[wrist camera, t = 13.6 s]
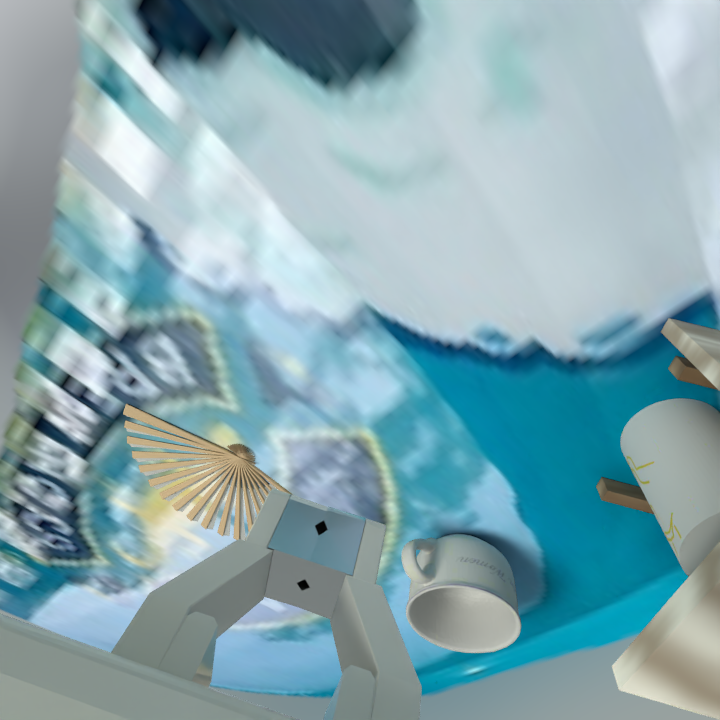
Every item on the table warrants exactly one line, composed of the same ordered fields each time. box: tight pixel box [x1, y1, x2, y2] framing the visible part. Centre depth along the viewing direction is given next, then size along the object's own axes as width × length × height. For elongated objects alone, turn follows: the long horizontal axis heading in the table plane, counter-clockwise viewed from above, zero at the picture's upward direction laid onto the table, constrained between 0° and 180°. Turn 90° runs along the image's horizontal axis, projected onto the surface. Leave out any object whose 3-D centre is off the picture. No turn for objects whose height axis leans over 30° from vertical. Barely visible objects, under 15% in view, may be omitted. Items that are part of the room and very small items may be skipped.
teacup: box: [402, 534, 521, 653], centre depth 47 cm, size 14×11×8 cm
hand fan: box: [123, 404, 292, 540], centre depth 52 cm, size 26×1×15 cm
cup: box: [620, 398, 720, 576], centre depth 34 cm, size 8×8×12 cm
